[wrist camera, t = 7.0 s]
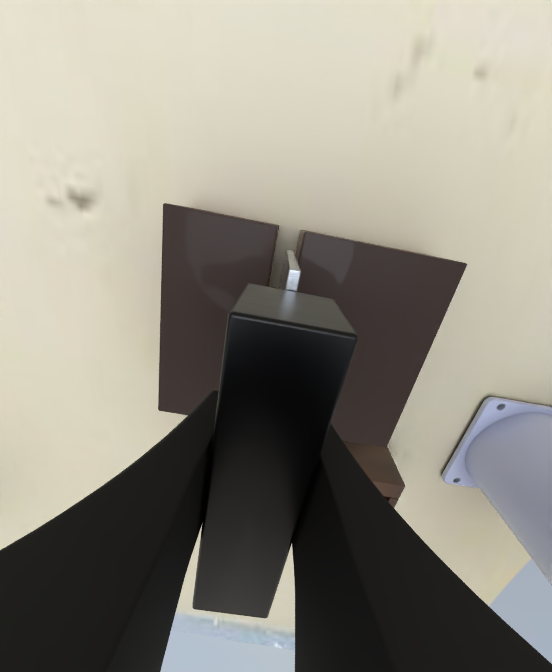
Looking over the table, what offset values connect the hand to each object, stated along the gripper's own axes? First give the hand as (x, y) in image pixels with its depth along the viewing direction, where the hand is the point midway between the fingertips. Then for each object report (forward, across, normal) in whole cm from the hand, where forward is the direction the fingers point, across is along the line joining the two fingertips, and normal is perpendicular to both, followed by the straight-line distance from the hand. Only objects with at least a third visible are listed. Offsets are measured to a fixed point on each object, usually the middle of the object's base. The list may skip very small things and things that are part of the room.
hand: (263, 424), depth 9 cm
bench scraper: (+5, 0, 0) cm, 5 cm away
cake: (+9, -4, 0) cm, 10 cm away
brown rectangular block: (+9, +3, 0) cm, 10 cm away
